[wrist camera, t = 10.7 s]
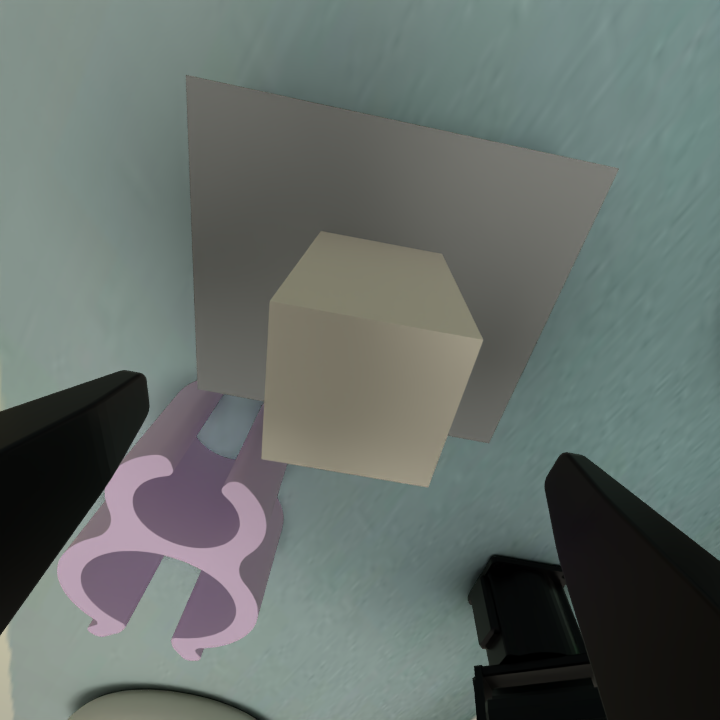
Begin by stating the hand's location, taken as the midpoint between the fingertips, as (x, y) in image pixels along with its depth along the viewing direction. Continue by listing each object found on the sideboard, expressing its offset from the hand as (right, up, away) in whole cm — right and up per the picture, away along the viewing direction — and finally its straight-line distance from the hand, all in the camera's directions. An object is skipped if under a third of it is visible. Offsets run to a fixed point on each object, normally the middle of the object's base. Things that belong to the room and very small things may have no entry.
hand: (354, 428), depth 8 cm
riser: (+1, +6, +11) cm, 13 cm away
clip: (-11, -8, +21) cm, 25 cm away
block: (+1, +4, +7) cm, 8 cm away
